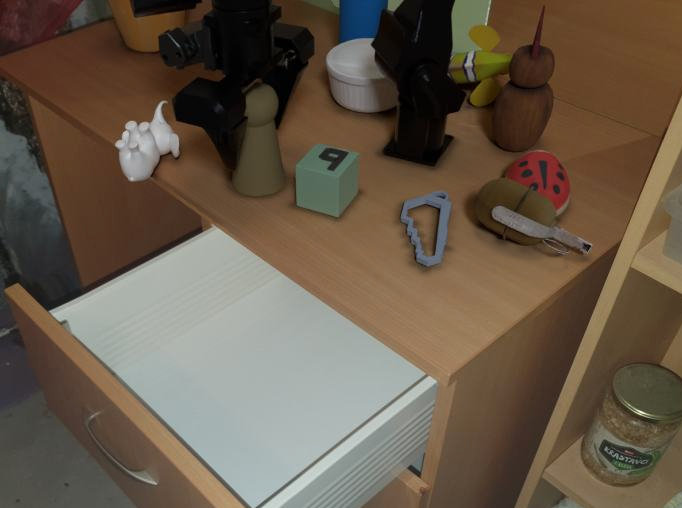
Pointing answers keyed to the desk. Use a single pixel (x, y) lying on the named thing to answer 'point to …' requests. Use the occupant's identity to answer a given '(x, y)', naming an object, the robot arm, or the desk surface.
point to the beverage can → (359, 18)
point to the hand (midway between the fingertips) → (253, 148)
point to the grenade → (522, 215)
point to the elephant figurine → (146, 146)
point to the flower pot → (143, 25)
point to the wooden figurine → (525, 97)
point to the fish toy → (481, 65)
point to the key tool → (442, 228)
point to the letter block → (327, 179)
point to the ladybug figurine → (542, 177)
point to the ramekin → (359, 78)
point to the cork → (260, 145)
